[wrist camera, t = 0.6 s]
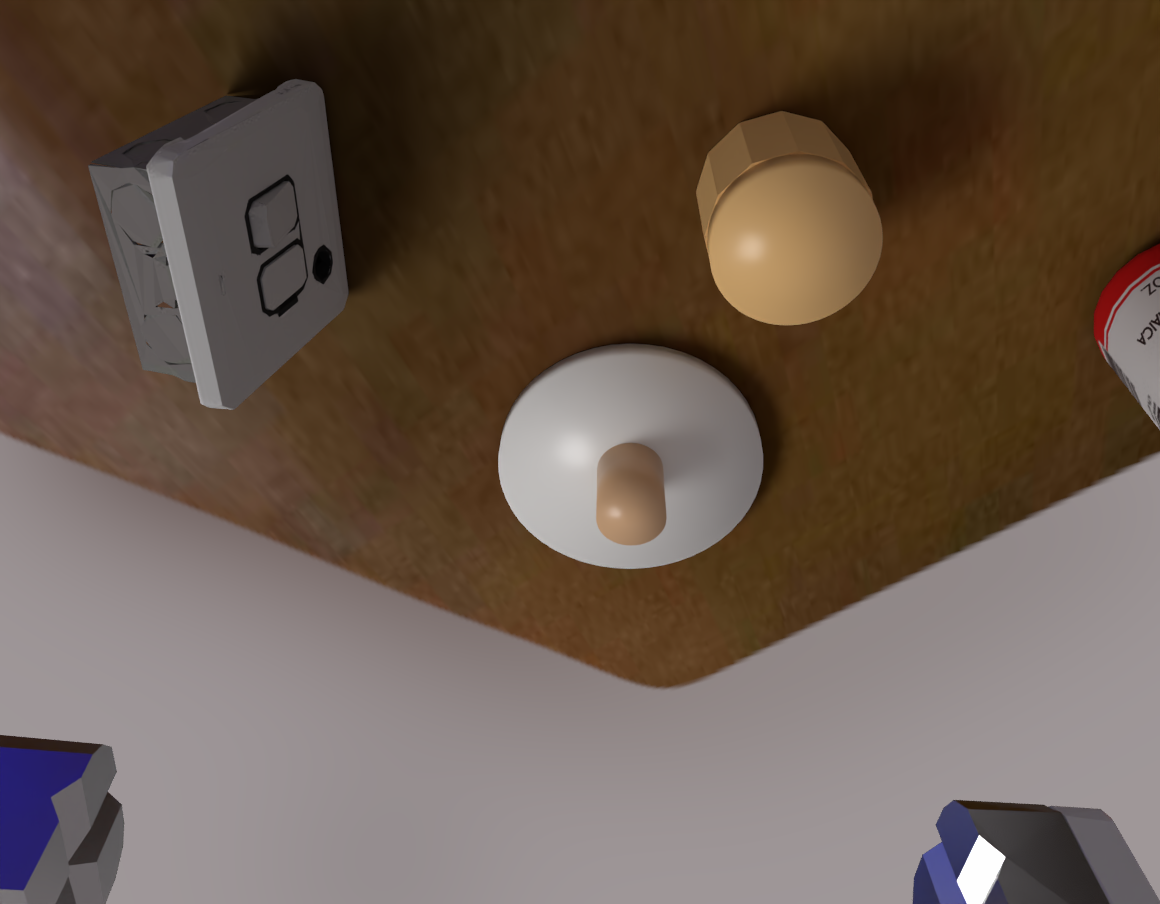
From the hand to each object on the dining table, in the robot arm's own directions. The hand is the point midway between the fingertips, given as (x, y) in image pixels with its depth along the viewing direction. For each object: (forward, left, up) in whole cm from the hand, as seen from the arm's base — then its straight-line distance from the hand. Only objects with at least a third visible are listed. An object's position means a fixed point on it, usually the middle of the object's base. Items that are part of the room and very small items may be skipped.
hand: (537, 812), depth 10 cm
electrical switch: (+14, -5, -33) cm, 36 cm away
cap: (0, +9, -33) cm, 34 cm away
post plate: (+13, +14, -33) cm, 38 cm away
